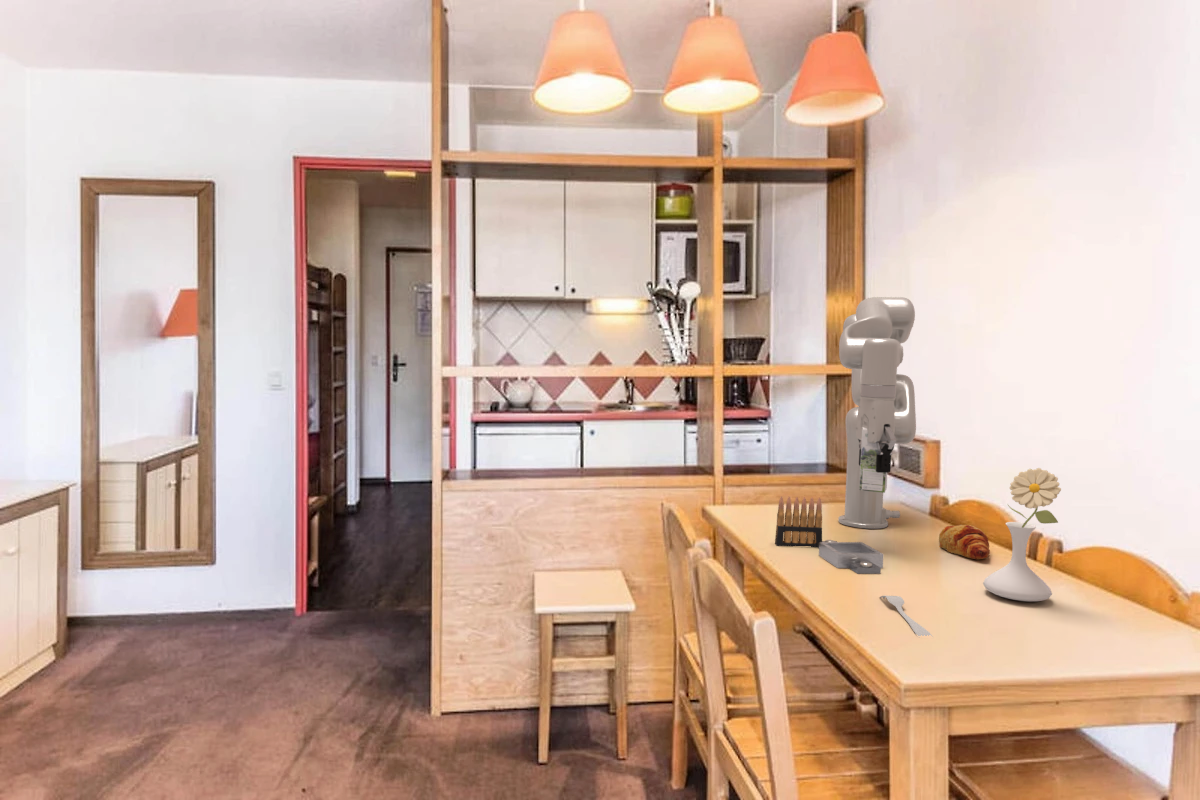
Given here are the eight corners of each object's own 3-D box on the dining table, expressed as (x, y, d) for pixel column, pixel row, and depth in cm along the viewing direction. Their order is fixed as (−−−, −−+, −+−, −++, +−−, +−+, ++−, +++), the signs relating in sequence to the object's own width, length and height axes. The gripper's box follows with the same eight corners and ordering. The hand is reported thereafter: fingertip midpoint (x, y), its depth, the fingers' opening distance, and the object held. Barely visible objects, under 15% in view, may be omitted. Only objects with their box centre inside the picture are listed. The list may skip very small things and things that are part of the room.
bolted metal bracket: (846, 546, 176) (846, 533, 176) (892, 573, 154) (892, 559, 154) (805, 546, 175) (805, 533, 175) (845, 573, 153) (846, 559, 153)
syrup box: (887, 489, 174) (890, 427, 173) (885, 493, 168) (888, 429, 167) (861, 486, 176) (864, 425, 175) (858, 490, 171) (861, 427, 170)
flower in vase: (968, 590, 144) (976, 462, 143) (1011, 585, 148) (1019, 460, 147) (1030, 613, 132) (1038, 472, 131) (1074, 606, 136) (1083, 470, 135)
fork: (917, 654, 119) (918, 638, 118) (875, 598, 139) (876, 584, 139) (935, 655, 119) (936, 639, 118) (890, 598, 139) (891, 584, 139)
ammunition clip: (820, 547, 176) (822, 496, 176) (822, 549, 174) (824, 498, 174) (774, 545, 177) (776, 495, 176) (776, 547, 175) (778, 496, 174)
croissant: (932, 554, 185) (918, 525, 185) (970, 536, 185) (956, 507, 184) (972, 577, 164) (956, 545, 164) (1014, 557, 163) (998, 525, 163)
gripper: (845, 390, 179) (842, 462, 180) (880, 395, 161) (876, 475, 163) (875, 390, 180) (872, 463, 181) (913, 396, 162) (909, 476, 164)
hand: (874, 468), depth 172 cm, fingers closed on syrup box, 7 cm apart
